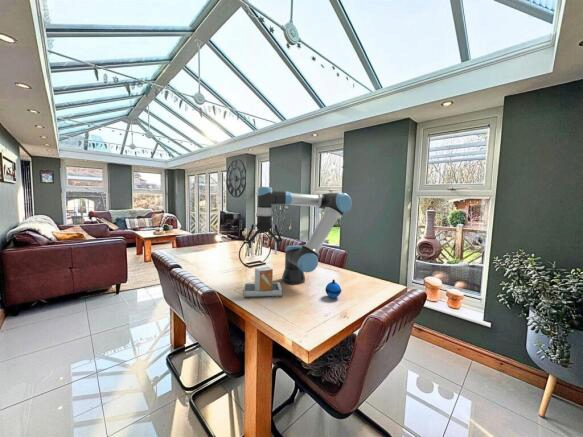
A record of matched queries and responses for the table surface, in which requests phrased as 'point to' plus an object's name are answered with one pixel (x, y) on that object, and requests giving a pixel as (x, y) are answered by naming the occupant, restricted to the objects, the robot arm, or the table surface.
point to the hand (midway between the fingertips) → (263, 254)
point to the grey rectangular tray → (252, 293)
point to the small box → (263, 279)
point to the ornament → (333, 289)
